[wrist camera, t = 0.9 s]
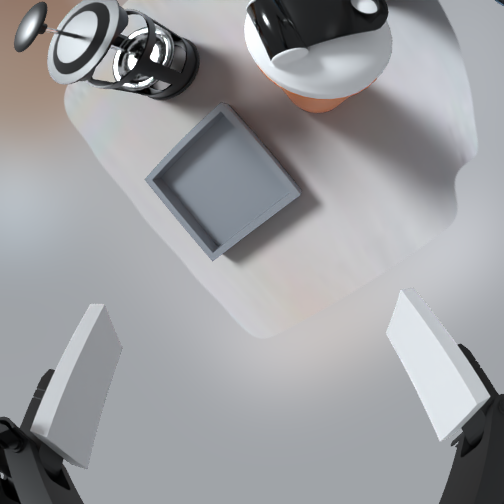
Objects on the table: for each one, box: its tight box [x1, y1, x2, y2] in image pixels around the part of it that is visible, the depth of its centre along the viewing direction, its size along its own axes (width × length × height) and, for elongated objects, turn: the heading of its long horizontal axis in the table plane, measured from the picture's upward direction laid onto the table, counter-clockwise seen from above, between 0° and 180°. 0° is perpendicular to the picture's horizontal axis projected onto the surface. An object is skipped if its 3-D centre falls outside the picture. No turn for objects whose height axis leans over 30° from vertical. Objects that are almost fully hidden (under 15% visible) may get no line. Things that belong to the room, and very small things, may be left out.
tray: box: [145, 102, 301, 261], centre depth 33 cm, size 14×14×3 cm
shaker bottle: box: [244, 0, 392, 113], centre depth 18 cm, size 9×9×20 cm
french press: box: [14, 0, 199, 100], centre depth 19 cm, size 12×9×23 cm
